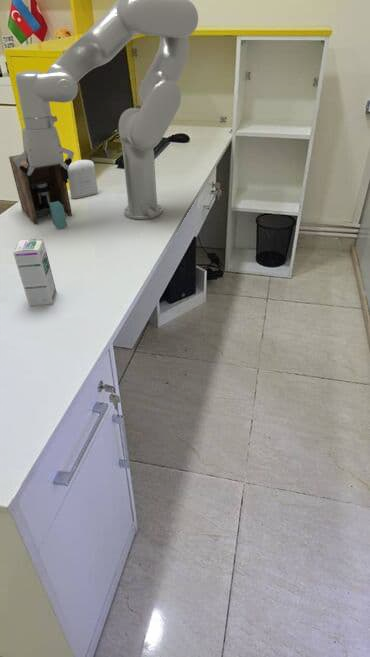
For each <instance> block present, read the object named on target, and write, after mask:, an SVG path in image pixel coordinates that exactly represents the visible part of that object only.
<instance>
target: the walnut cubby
mask: <svg viewBox="0 0 370 657" xmlns="http://www.w3.org/2000/svg"><path fill="white" fill-rule="evenodd" d="M19 155H20V154H17V155H10V156H8V158H9V159H8V160H9V164H10V166H11V171H12V174H13V178H14V183H15V186H16V191H17V195H18V199H19V201H20V207H21V209H22V212H23V214H24V215H26V217H27V218H28V219H29V220H30V221H31V223H33V224H34V225H35V226H36V225H38V224H39V223H38V219H37V218H38V217H36V214H35V211H36V209H34V205H33V203H35V202H39V201H40V200H39V196H38V193H37V192H36V191H35V189H33V188H32V187H31V186H29V184H28V179H27V174H26V173H24V172H23V171H22V170H20V169H19V168H18V166H17V165H16V164H15V162H14V159H15V158H17V157H18V156H19ZM21 164H22V165H23V166H24V167H25V168H26V166H27V165H28V163H27V162H26V160H25V159H24V160H23V161H22V162H21ZM60 168H61V165H60V164H56V165H50V166H44V167H37V168H34V170H33V172H32V174H33V175H34V180H35V183H36V182H38V181H46V182H47V183H48V184H50V190H49V196H50V199H53V198H55V199H56V200H57V201H59V202H60V203H61V204H62V205H63V208H64V213H65V214H66V215H67V216H68V217H73V213H72V208H71V207H72V206H71V203H70V196H69V192H68V191H69V190H68V186H67V183H65V182H64V181H62V176H61V170H60ZM35 185H36V184H35ZM37 209H39V208H37Z"/></svg>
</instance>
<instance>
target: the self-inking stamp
mask: <svg viewBox="0 0 370 657" xmlns="http://www.w3.org/2000/svg"><path fill="white" fill-rule="evenodd" d="M35 184H36V189H35V191H36V192H37V193H38V196H39V200H40V202H39V203H40V205H38V207H37V208H38V209H35V211H37V210H41V209H45V208H50V205H49V203H51V201H50V196H49V190H50V184H48V183H47V182H46V181H38V182H36V183H35ZM35 208H36V207H35Z"/></svg>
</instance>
